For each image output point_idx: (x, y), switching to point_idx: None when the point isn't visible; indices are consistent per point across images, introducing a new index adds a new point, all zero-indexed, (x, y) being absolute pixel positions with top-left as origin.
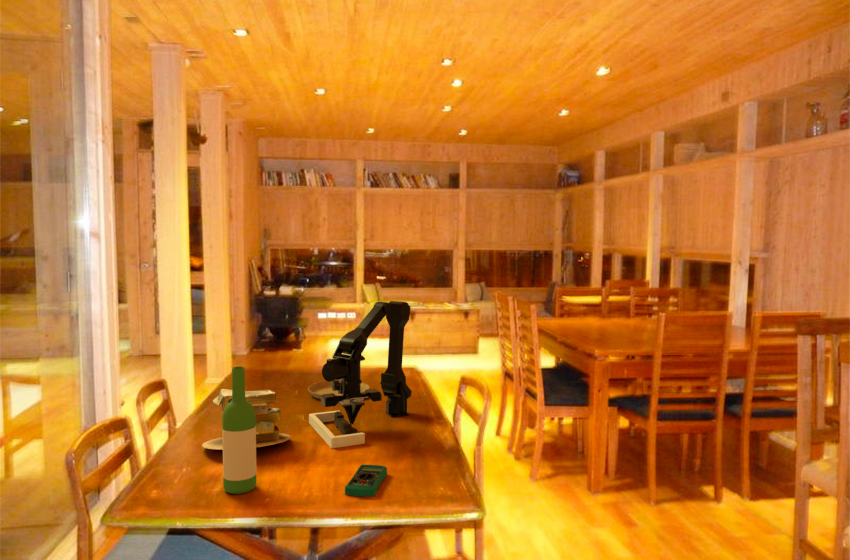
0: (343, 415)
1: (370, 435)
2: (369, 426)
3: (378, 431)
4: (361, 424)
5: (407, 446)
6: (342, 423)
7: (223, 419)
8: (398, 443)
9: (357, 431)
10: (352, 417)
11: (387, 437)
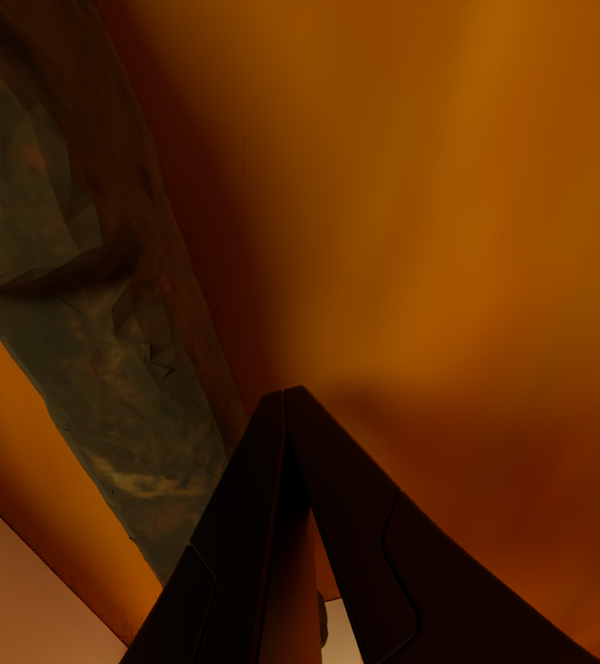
0: (94, 252)
1: (446, 488)
2: (555, 207)
3: (564, 400)
4: (481, 63)
5: (584, 632)
6: (139, 530)
7: None
8: (564, 605)
9: (326, 623)
10: (314, 570)
11: (557, 527)
